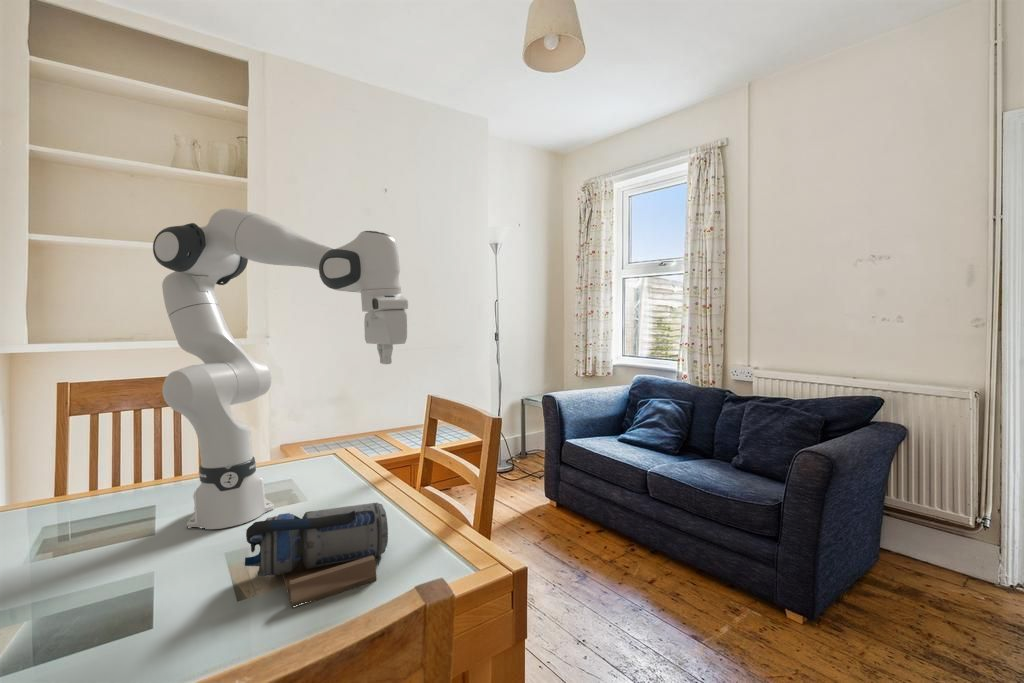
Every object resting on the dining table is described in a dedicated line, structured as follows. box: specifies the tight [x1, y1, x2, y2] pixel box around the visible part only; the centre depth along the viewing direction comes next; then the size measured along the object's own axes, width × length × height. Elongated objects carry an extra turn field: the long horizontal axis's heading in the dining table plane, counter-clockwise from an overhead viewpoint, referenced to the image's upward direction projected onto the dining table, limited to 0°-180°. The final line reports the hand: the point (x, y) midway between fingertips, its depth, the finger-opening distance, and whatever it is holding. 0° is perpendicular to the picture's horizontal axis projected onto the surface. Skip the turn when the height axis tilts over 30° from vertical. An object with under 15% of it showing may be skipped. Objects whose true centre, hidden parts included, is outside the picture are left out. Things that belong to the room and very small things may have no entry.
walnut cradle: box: [282, 555, 378, 608], centre depth 91 cm, size 19×14×4 cm
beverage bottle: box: [244, 502, 389, 577], centre depth 91 cm, size 10×13×25 cm
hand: (385, 363), depth 109 cm, fingers closed
